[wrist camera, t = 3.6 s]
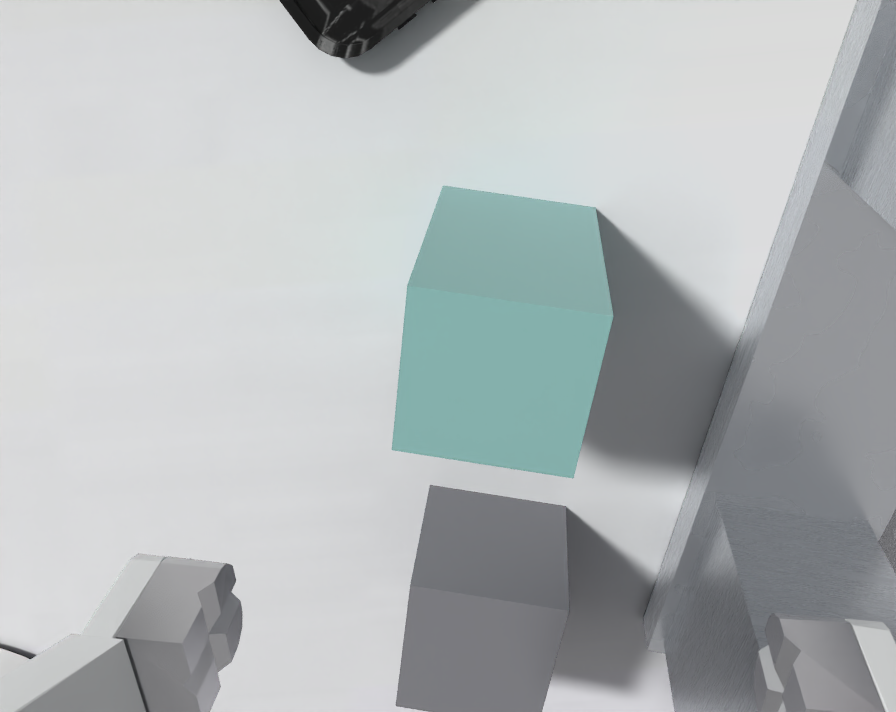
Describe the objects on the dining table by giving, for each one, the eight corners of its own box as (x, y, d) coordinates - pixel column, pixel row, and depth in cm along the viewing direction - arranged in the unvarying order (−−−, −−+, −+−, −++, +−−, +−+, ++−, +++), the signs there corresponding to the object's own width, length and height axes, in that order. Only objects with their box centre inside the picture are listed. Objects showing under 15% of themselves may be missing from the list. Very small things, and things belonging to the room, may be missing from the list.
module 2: (537, 617, 32) (537, 729, 27) (415, 597, 32) (395, 705, 28) (565, 504, 29) (569, 611, 24) (430, 483, 29) (410, 585, 25)
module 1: (566, 340, 25) (573, 478, 19) (428, 319, 25) (391, 449, 19) (595, 207, 23) (613, 316, 17) (443, 185, 23) (407, 285, 17)
